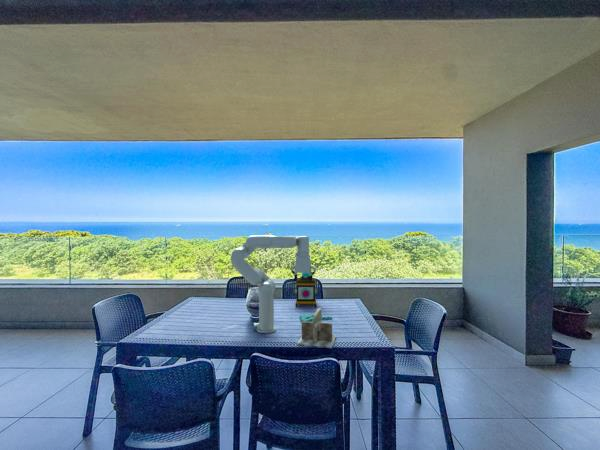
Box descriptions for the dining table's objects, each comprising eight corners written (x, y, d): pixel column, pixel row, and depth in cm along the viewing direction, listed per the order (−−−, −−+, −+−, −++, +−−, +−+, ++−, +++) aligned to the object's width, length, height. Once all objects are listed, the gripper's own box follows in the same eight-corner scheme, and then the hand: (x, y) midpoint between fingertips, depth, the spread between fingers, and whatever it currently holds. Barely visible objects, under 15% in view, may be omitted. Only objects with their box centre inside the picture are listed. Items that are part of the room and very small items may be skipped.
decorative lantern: (295, 302, 288) (295, 268, 288) (317, 302, 287) (317, 268, 287) (293, 308, 268) (293, 272, 268) (317, 308, 267) (317, 272, 267)
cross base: (297, 345, 185) (297, 325, 185) (304, 334, 203) (304, 316, 203) (331, 348, 181) (331, 328, 181) (335, 337, 198) (335, 319, 198)
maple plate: (312, 343, 185) (313, 315, 185) (318, 333, 201) (318, 308, 201) (316, 343, 185) (316, 315, 185) (321, 334, 200) (321, 308, 200)
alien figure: (332, 319, 237) (310, 315, 249) (332, 316, 237) (310, 312, 249) (315, 326, 221) (293, 321, 234) (315, 323, 221) (293, 318, 234)
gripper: (288, 255, 209) (288, 281, 209) (315, 255, 205) (315, 282, 205) (291, 254, 216) (292, 279, 216) (317, 254, 212) (317, 280, 212)
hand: (303, 281), depth 210 cm, fingers open, 9 cm apart
